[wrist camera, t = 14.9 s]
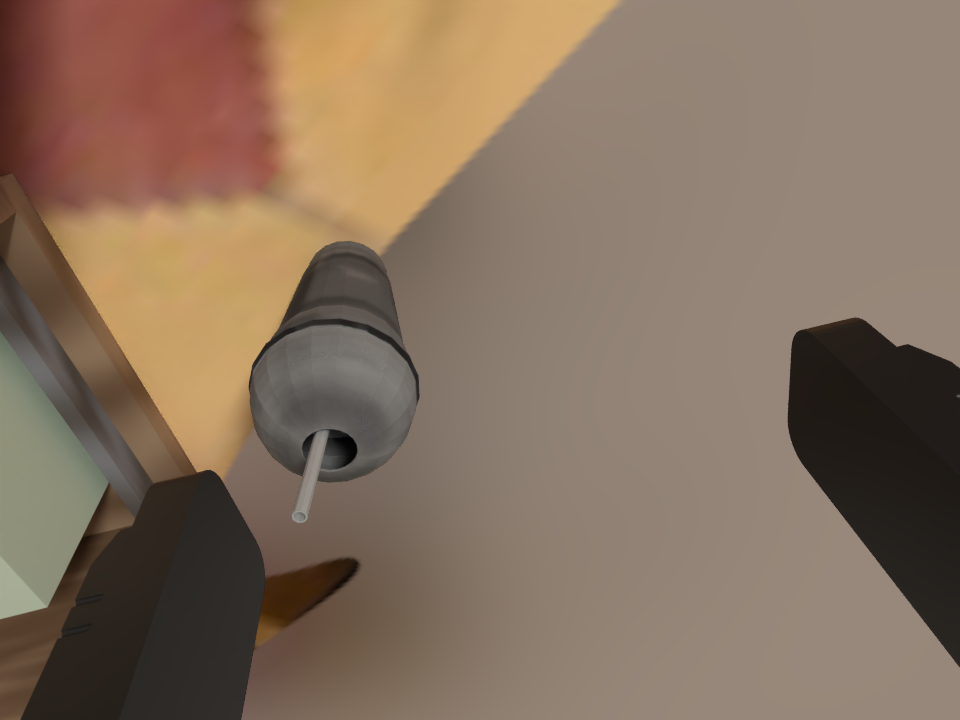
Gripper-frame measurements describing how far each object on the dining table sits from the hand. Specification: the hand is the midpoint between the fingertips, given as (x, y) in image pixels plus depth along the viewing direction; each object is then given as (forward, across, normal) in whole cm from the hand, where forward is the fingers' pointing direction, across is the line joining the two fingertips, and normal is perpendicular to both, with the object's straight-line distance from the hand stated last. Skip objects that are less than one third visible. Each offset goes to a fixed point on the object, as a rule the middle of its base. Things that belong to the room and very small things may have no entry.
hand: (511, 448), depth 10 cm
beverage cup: (+29, +7, +10) cm, 32 cm away
